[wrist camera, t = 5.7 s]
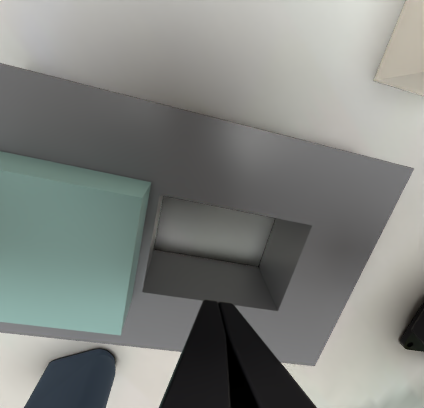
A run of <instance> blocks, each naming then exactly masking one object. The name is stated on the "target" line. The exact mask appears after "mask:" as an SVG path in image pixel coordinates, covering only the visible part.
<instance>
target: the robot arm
mask: <svg viewBox="0 0 424 408" xmlns="http://www.w3.org/2000/svg"><path fill="white" fill-rule="evenodd" d="M400 344H401V345H402V346H403V347H404V348H405V349H407V350H415V351H423V352H424V303H423V305H422V306H421V308H420V310H419V311H418V313H417V314H416V316H415V318H414V319H413V321H412V322H411V324H410V326H409V327H408V329H407V330H406V332H405V334H404V335H403V337H402V338H401V340H400ZM159 408H317V407H316V406H315V405H314V403H313V402H312V401H311V400H310V398H309V397H308V396H307V395H306V394H305V392H304V391H303V390H302V389H301V387H300V386H299V385H298V384H297V382H296V381H295V380H294V379H293V377H292V376H291V375H290V374H289V372H288V371H287V370H286V369H285V367H284V366H283V365H282V364H281V362H280V361H279V360H278V359H277V358H276V356H275V355H274V354H273V353H272V351H271V350H270V349H269V348H268V346H267V345H266V344H265V343H264V341H263V340H262V339H261V338H260V336H259V335H258V334H257V333H256V331H255V330H254V329H253V328H252V326H251V325H250V324H249V323H248V322H247V320H246V319H245V318H244V317H243V315H242V314H241V313H240V312H239V310H238V309H237V308H236V307H235V305H234V304H233V303H230V302H223V301H220V302H217V301H215V300H208V299H204V300H203V302H202V304H201V307H200V309H199V312H198V314H197V316H196V319H195V321H194V324H193V326H192V329H191V331H190V333H189V336H188V338H187V341H186V343H185V346H184V348H183V350H182V353H181V355H180V358H179V360H178V363H177V365H176V367H175V370H174V372H173V375H172V377H171V380H170V382H169V384H168V387H167V389H166V392H165V394H164V397H163V399H162V401H161V404H160V406H159Z"/></svg>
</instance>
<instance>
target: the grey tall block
mask: <svg viewBox="0 0 424 408" xmlns="http://www.w3.org/2000/svg"><path fill="white" fill-rule="evenodd" d="M373 81H376V82H379V83H382V84H385V85H389V86H392V87H395V88H398V89H402V90H405V91H408V92H411V93H415V94H418V95H421V96H424V0H406V1H405V4H404V6H403V9H402V11H401V14H400V16H399V18H398V21H397V23H396V26H395V28H394V31H393V33H392V36H391V38H390V41H389V43H388V46H387V48H386V51H385V53H384V55H383V58H382V60H381V63H380V65H379V68H378V70H377V73H376V75H375V78H374V80H373Z"/></svg>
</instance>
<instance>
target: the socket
mask: <svg viewBox="0 0 424 408" xmlns="http://www.w3.org/2000/svg"><path fill="white" fill-rule="evenodd" d="M0 151H2V152H7V153H12V154H17V155H22V156H27V157H31V158H36V159H41V160H46V161H51V162H56V163H61V164H65V165H70V166H75V167H80V168H85V169H90V170H94V171H99V172H104V173H109V174H114V175H119V176H124V177H128V178H133V179H138V180H143V181H148V182H151V187H150V193H149V199H148V205H147V211H146V217H145V223H144V229H143V235H142V241H141V247H140V253H139V259H138V265H137V271H136V277H135V283H134V289H133V295H132V301H131V304H130V307H129V310H128V314H127V317H126V320H125V323H124V326H123V329H122V333H121V335H112V334H103V333H95V332H86V331H77V330H68V329H59V328H50V327H41V326H33V325H24V324H15V323H6V322H0V332H1V333H11V334H20V335H29V336H39V337H48V338H57V339H67V340H76V341H85V342H95V343H104V344H113V345H123V346H132V347H141V348H151V349H160V350H170V351H179V352H182V350H183V348H184V346H185V343H186V341H187V338H188V336H189V333H190V331H191V329H192V326H193V324H194V321H195V319H196V316H197V314H198V312H199V309H200V307H201V304H202V302H203V300H204V299H208V300H215V301H217V302H220V301H223V302H230V303H233V304H234V305H235V307H236V308H237V309H238V310H239V312H240V313H241V314H242V315H243V317H244V318H245V319H246V320H247V322H248V323H249V324H250V325H251V326H252V328H253V329H254V330H255V331H256V333H257V334H258V335H259V336H260V338H261V339H262V340H263V341H264V343H265V344H266V345H267V346H268V348H269V349H270V350H271V351H272V353H273V354H274V355H275V356H276V358H277V359H278V360H279V361H280V362H282V363H291V364H300V365H310V366H315V364H316V362H317V360H318V358H319V356H320V354H321V352H322V350H323V348H324V347H325V345H326V343H327V341H328V339H329V337H330V335H331V333H332V331H333V329H334V327H335V325H336V323H337V321H338V319H339V317H340V315H341V313H342V311H343V309H344V307H345V305H346V303H347V301H348V299H349V297H350V295H351V293H352V291H353V289H354V287H355V285H356V283H357V281H358V279H359V277H360V275H361V273H362V271H363V269H364V267H365V265H366V263H367V261H368V259H369V257H370V255H371V253H372V251H373V249H374V247H375V245H376V243H377V241H378V239H379V237H380V235H381V233H382V231H383V229H384V227H385V225H386V223H387V221H388V219H389V217H390V215H391V213H392V211H393V209H394V207H395V205H396V203H397V201H398V199H399V197H400V195H401V193H402V191H403V189H404V187H405V185H406V184H407V182H408V180H409V178H410V176H411V174H412V172H413V170H414V168H411V167H407V166H403V165H399V164H395V163H391V162H387V161H383V160H379V159H375V158H371V157H367V156H364V155H360V154H356V153H352V152H348V151H344V150H340V149H336V148H332V147H328V146H324V145H320V144H316V143H312V142H308V141H305V140H301V139H297V138H293V137H289V136H285V135H281V134H277V133H273V132H269V131H265V130H261V129H257V128H253V127H250V126H246V125H242V124H238V123H234V122H230V121H226V120H222V119H218V118H214V117H210V116H206V115H202V114H198V113H195V112H191V111H187V110H183V109H179V108H175V107H171V106H167V105H163V104H159V103H155V102H151V101H147V100H143V99H139V98H136V97H132V96H128V95H124V94H120V93H116V92H112V91H108V90H104V89H100V88H96V87H92V86H88V85H84V84H81V83H77V82H73V81H69V80H65V79H61V78H57V77H53V76H49V75H45V74H41V73H37V72H33V71H29V70H26V69H22V68H18V67H14V66H10V65H6V64H2V63H0ZM164 196H167V197H172V198H177V199H182V200H187V201H192V202H197V203H202V204H207V205H212V206H217V207H222V208H227V209H232V210H237V211H242V212H247V213H252V214H257V215H262V216H267V217H272V218H276V219H275V222H274V224H273V227H272V230H271V233H270V236H269V239H268V242H267V245H266V247H265V250H264V253H263V256H262V259H261V262H260V265H259V267H255V266H249V265H243V264H237V263H231V262H225V261H219V260H213V259H207V258H201V257H195V256H189V255H183V254H177V253H171V252H165V251H159V250H154V245H155V240H156V235H157V229H158V224H159V218H160V213H161V208H162V202H163V197H164Z"/></svg>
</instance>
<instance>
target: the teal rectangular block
mask: <svg viewBox="0 0 424 408" xmlns="http://www.w3.org/2000/svg"><path fill="white" fill-rule="evenodd" d="M150 187H151V182H148V181H143V180H138V179H133V178H128V177H124V176H119V175H114V174H109V173H104V172H99V171H94V170H90V169H85V168H80V167H75V166H70V165H65V164H61V163H56V162H51V161H46V160H41V159H36V158H31V157H27V156H22V155H17V154H12V153H7V152H2V151H0V322H6V323H15V324H24V325H33V326H41V327H50V328H59V329H68V330H77V331H86V332H95V333H103V334H112V335H121V333H122V329H123V326H124V323H125V320H126V317H127V314H128V310H129V307H130V304H131V301H132V295H133V289H134V283H135V277H136V271H137V265H138V259H139V253H140V247H141V241H142V235H143V229H144V223H145V217H146V211H147V205H148V199H149V193H150Z"/></svg>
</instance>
